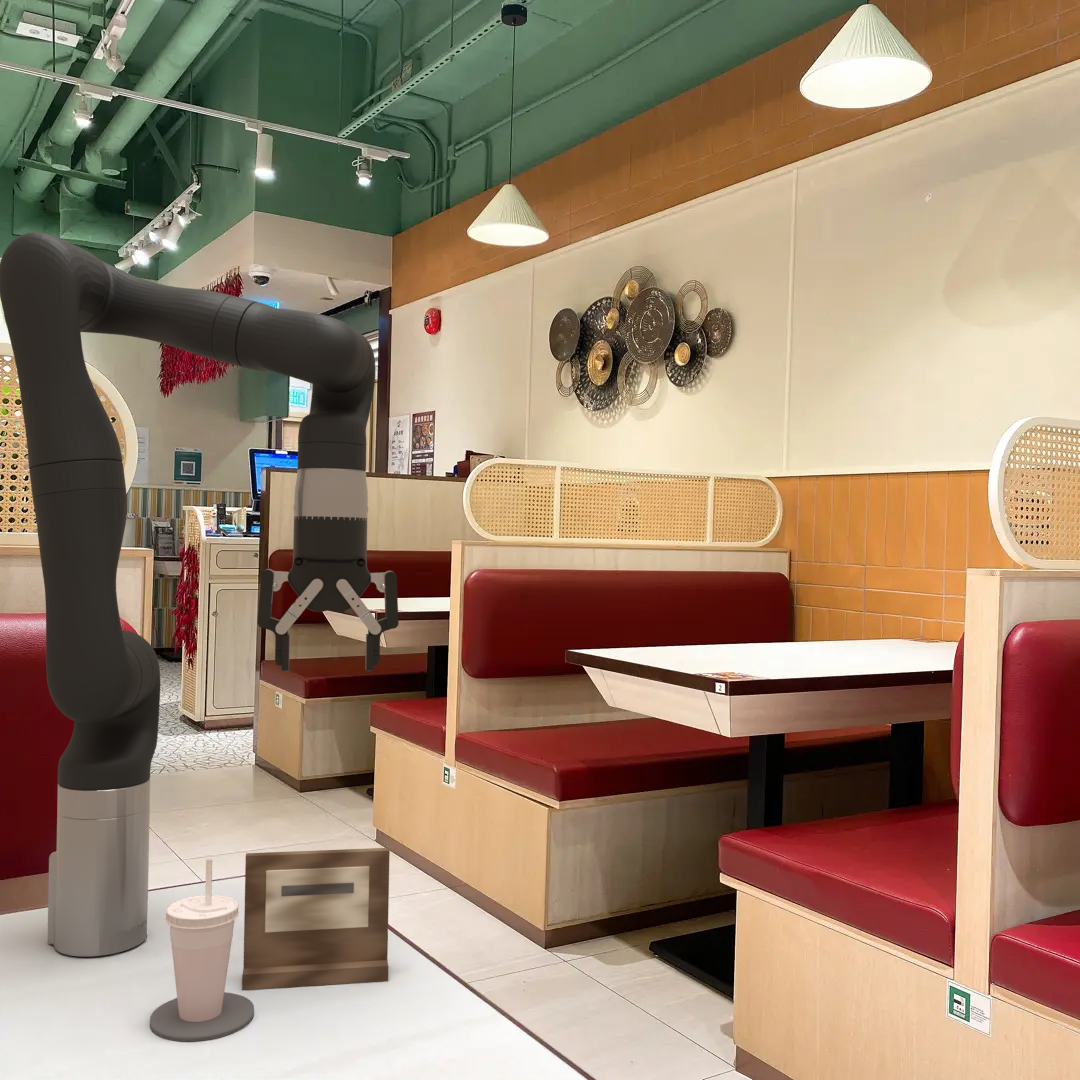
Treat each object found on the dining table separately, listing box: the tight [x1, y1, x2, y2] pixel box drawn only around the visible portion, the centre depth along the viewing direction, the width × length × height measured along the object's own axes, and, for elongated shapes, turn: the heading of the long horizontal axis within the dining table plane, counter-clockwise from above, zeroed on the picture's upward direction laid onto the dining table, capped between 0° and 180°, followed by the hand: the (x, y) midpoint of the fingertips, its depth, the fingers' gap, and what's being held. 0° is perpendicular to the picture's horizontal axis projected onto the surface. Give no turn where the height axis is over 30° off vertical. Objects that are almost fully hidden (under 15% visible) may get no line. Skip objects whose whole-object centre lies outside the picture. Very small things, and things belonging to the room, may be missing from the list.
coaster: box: [149, 991, 255, 1042], centre depth 97 cm, size 9×9×1 cm
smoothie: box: [164, 857, 240, 1022], centre depth 97 cm, size 6×6×14 cm
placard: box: [241, 847, 391, 991], centre depth 107 cm, size 14×4×12 cm, turn 102°
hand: (327, 670), depth 111 cm, fingers open, 8 cm apart
